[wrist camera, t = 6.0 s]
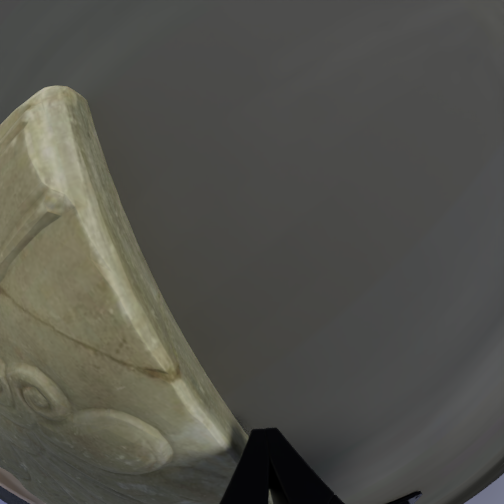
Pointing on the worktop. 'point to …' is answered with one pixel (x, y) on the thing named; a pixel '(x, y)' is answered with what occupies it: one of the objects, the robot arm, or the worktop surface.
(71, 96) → the decorative tile
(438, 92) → the worktop surface
